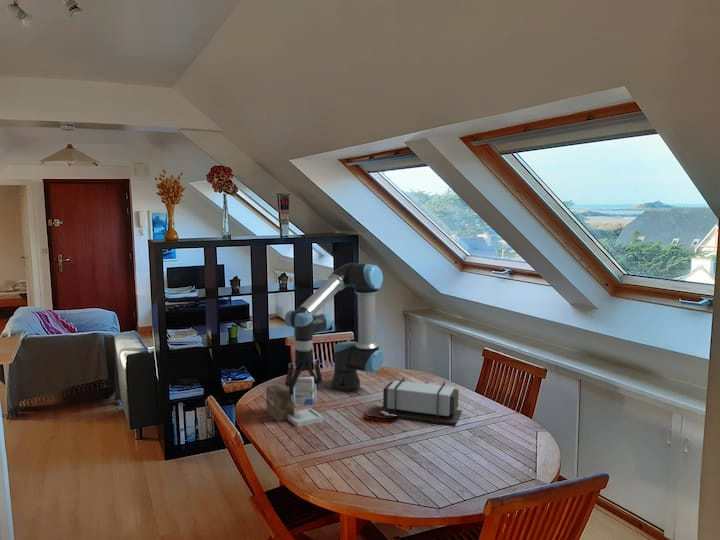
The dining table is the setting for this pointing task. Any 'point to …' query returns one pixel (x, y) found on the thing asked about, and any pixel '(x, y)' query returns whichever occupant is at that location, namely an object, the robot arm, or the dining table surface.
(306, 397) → the ink box
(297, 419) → the tray
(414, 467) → the dining table surface
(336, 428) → the dining table surface
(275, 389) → the block
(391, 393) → the strapped grey crate
